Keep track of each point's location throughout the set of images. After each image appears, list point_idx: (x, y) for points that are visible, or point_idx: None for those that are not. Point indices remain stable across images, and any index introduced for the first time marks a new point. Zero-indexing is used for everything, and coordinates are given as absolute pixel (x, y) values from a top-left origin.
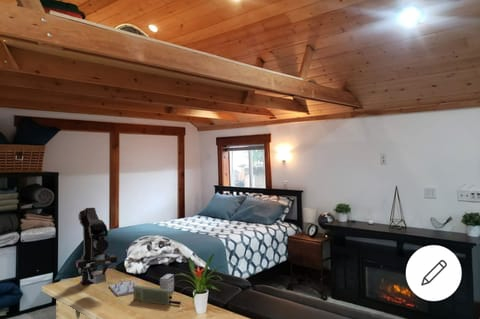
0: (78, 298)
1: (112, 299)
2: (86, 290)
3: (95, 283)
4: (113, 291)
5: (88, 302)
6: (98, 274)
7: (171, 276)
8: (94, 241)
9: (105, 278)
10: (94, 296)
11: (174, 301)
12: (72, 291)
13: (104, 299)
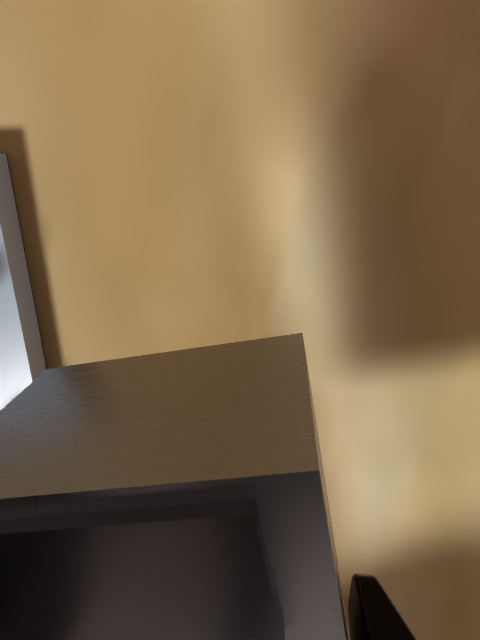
0: (475, 390)
1: (88, 57)
2: None
3: (306, 361)
4: (41, 355)
5: (428, 154)
6: (164, 626)
7: None
8: None
9: (10, 411)
10: None
11: None
12: (439, 612)
13: (195, 137)
